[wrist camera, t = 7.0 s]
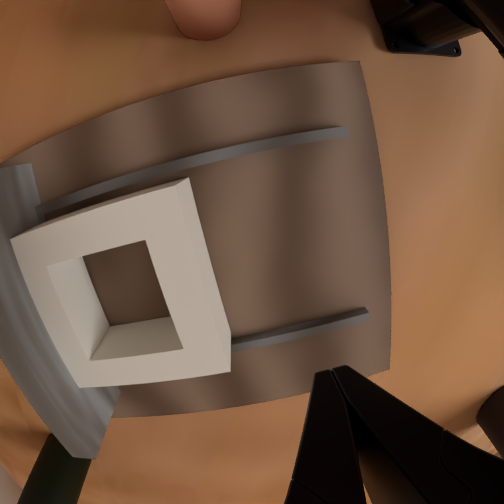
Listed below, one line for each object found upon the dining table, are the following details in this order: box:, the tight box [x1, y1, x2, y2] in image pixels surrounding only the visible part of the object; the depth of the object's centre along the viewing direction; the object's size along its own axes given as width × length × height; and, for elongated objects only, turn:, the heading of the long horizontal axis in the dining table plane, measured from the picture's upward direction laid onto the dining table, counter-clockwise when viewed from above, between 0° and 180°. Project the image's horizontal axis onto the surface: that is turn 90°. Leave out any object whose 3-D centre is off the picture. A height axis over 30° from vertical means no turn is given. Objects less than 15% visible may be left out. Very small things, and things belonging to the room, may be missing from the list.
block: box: [10, 177, 231, 388], centre depth 17 cm, size 10×10×4 cm
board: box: [0, 61, 391, 459], centre depth 16 cm, size 24×22×8 cm
